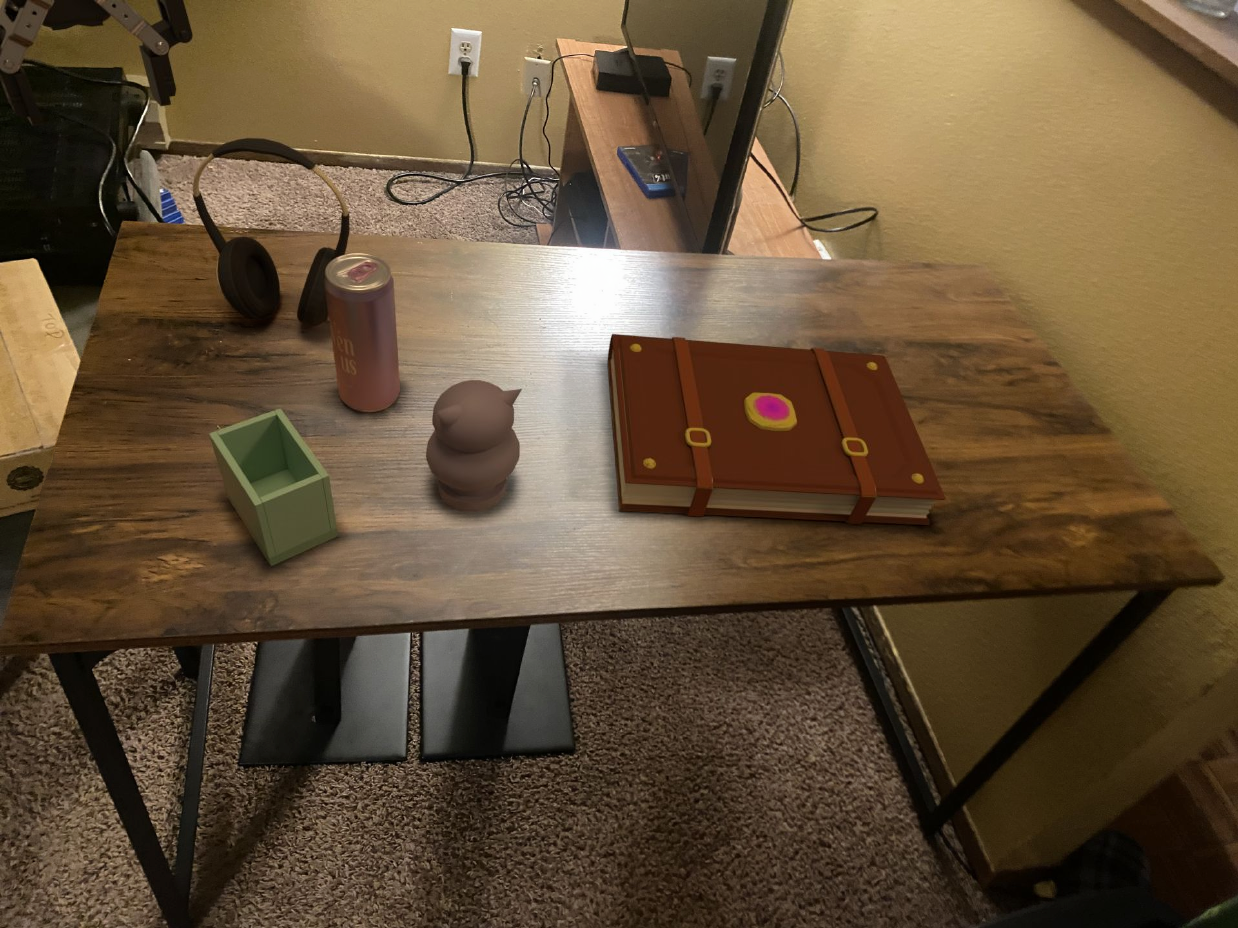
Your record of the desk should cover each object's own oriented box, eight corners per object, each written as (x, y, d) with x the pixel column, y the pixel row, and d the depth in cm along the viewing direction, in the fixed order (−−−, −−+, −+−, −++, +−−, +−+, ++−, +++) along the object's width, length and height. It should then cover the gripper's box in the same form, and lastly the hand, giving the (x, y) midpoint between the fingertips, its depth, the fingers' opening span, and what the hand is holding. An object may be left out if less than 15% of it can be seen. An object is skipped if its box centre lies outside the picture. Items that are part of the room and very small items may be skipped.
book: (928, 528, 84) (950, 496, 80) (619, 513, 79) (627, 478, 75) (868, 377, 99) (884, 345, 95) (606, 358, 94) (613, 322, 91)
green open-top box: (208, 433, 68) (254, 505, 64) (280, 407, 71) (329, 475, 67) (227, 496, 74) (270, 566, 70) (293, 470, 77) (338, 536, 73)
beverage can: (412, 393, 86) (407, 270, 75) (370, 424, 82) (358, 299, 71) (369, 367, 88) (357, 243, 77) (326, 396, 84) (307, 270, 73)
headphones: (233, 283, 93) (193, 108, 79) (367, 299, 95) (353, 131, 81) (207, 331, 88) (159, 151, 73) (351, 347, 89) (332, 175, 75)
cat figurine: (493, 443, 83) (499, 350, 74) (532, 498, 79) (542, 406, 70) (412, 471, 79) (408, 376, 70) (448, 530, 75) (449, 436, 66)
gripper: (-116, -138, 44) (3, 153, 56) (167, -141, 51) (220, 117, 63) (-144, -177, 47) (-26, 104, 59) (125, -175, 55) (182, 75, 66)
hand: (101, 110), depth 61 cm, fingers open, 8 cm apart
